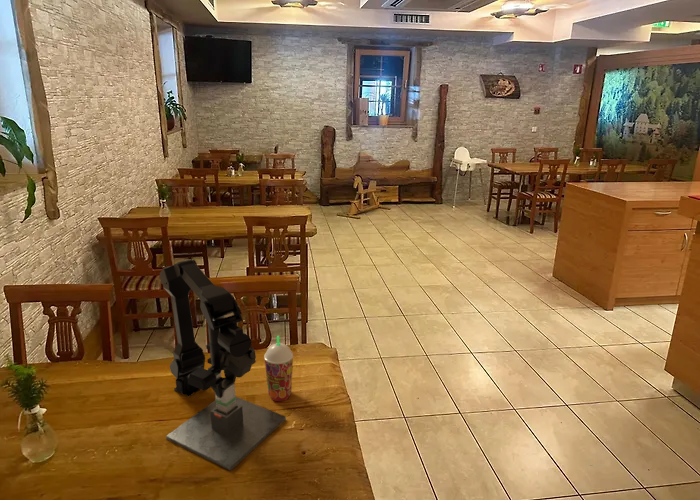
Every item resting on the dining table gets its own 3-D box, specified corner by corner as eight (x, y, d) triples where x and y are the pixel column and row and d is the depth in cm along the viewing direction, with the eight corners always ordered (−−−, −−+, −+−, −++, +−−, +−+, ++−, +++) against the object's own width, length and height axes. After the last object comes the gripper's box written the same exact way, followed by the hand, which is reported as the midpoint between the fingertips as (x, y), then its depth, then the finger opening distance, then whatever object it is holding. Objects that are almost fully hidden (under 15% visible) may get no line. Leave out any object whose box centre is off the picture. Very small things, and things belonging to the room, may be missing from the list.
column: (226, 406, 129) (224, 377, 127) (236, 411, 128) (234, 381, 125) (216, 414, 126) (213, 384, 124) (227, 418, 125) (224, 388, 122)
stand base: (226, 395, 143) (224, 376, 141) (285, 419, 133) (285, 399, 131) (166, 439, 125) (163, 418, 123) (230, 470, 114) (228, 448, 112)
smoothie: (260, 400, 141) (257, 339, 135) (275, 385, 148) (272, 327, 142) (285, 407, 138) (283, 345, 132) (299, 391, 145) (297, 332, 139)
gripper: (218, 366, 109) (222, 424, 114) (269, 333, 124) (271, 384, 129) (183, 353, 114) (189, 409, 119) (237, 323, 130) (240, 373, 134)
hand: (225, 393), depth 125 cm, fingers closed on column, 4 cm apart
